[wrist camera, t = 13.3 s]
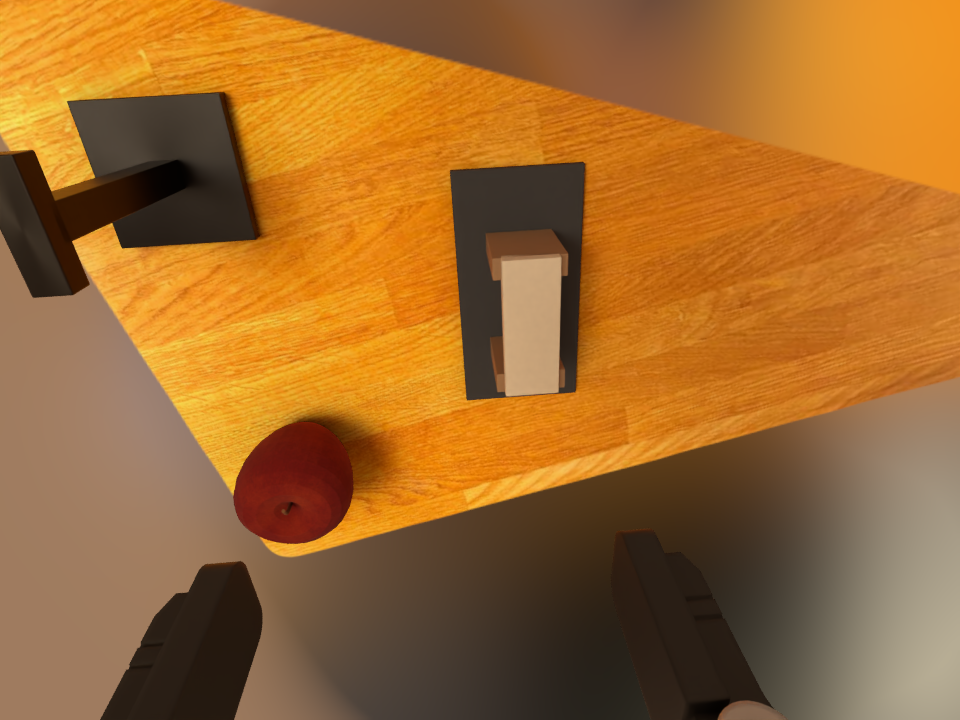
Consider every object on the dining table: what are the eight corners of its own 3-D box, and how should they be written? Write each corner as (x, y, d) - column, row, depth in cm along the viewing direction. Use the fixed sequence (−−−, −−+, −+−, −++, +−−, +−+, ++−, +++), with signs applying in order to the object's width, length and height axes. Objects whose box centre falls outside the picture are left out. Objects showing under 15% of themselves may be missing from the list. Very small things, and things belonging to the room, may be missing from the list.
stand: (75, 100, 37) (-154, 119, 23) (224, 91, 37) (89, 105, 23) (128, 244, 41) (-34, 334, 27) (259, 236, 42) (166, 321, 28)
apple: (374, 472, 53) (361, 552, 44) (280, 491, 54) (249, 573, 45) (344, 393, 49) (323, 464, 40) (242, 413, 49) (199, 488, 40)
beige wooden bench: (485, 232, 42) (492, 261, 36) (551, 228, 42) (570, 256, 36) (490, 353, 47) (498, 397, 41) (550, 349, 47) (566, 392, 41)
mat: (450, 170, 40) (450, 171, 40) (583, 161, 41) (585, 163, 40) (466, 397, 50) (466, 400, 49) (574, 389, 50) (575, 392, 50)
